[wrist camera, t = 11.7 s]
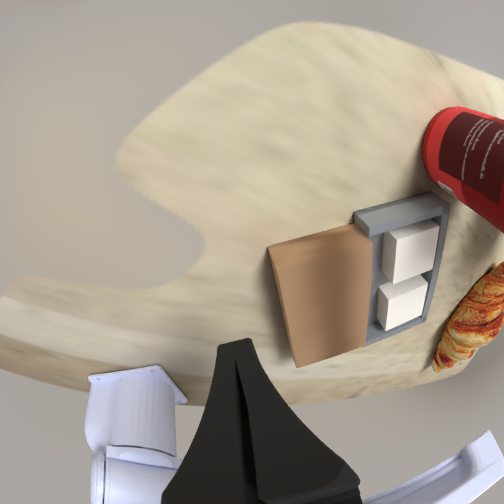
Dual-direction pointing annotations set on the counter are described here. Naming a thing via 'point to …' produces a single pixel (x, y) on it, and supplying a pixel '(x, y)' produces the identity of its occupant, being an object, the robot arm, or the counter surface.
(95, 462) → the robot arm
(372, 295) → the tray
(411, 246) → the tile
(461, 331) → the croissant
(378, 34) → the counter surface
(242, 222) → the counter surface
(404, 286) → the tile
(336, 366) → the counter surface
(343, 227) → the board
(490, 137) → the canned food
